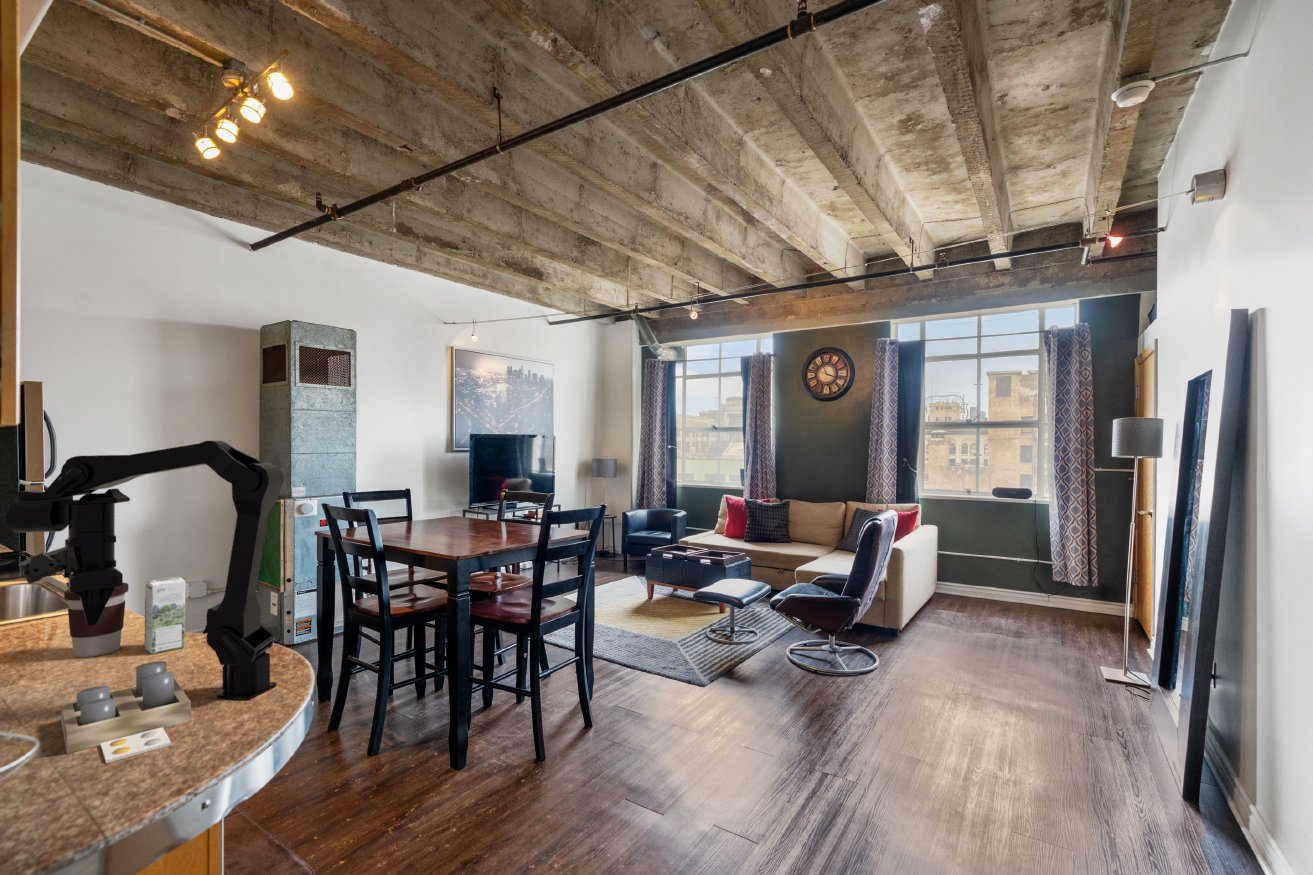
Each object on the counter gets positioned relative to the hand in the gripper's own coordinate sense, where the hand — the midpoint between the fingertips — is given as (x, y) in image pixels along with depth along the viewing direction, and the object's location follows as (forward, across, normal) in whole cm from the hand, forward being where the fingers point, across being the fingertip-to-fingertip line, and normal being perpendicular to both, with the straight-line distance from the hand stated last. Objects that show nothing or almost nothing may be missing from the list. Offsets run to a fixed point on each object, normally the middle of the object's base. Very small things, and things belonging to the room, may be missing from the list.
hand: (91, 624), depth 104 cm
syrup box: (+13, -26, +13) cm, 32 cm away
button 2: (+12, +17, 0) cm, 21 cm away
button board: (+13, +13, +3) cm, 19 cm away
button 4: (+10, +17, +7) cm, 21 cm away
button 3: (+10, +10, +7) cm, 16 cm away
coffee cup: (+13, -34, +3) cm, 37 cm away
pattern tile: (+13, +24, +3) cm, 28 cm away
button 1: (+12, +10, 0) cm, 16 cm away
